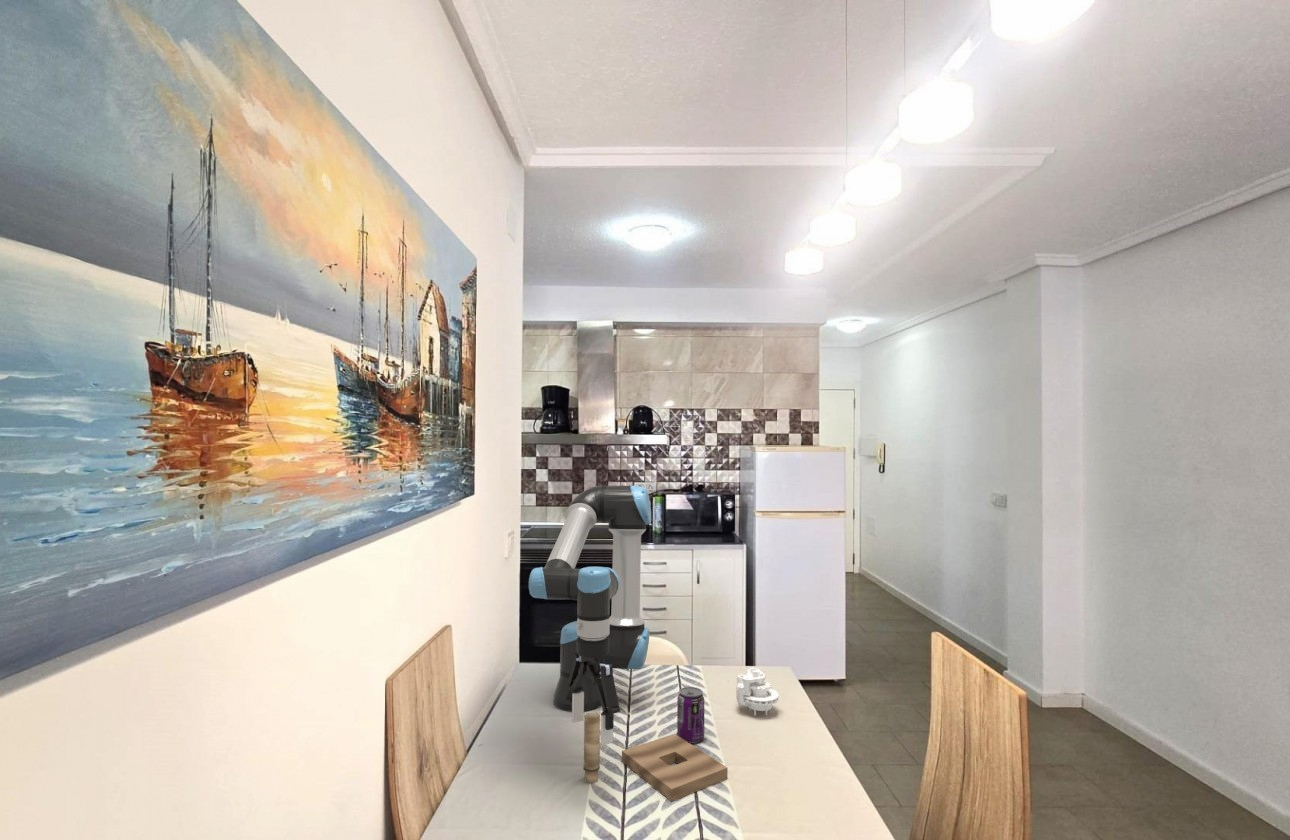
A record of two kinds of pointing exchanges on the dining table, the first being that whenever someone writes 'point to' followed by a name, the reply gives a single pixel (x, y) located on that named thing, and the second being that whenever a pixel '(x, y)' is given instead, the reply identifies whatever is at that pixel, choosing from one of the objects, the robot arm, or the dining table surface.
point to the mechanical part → (755, 691)
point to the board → (677, 779)
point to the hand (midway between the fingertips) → (591, 732)
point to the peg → (591, 747)
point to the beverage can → (690, 714)
